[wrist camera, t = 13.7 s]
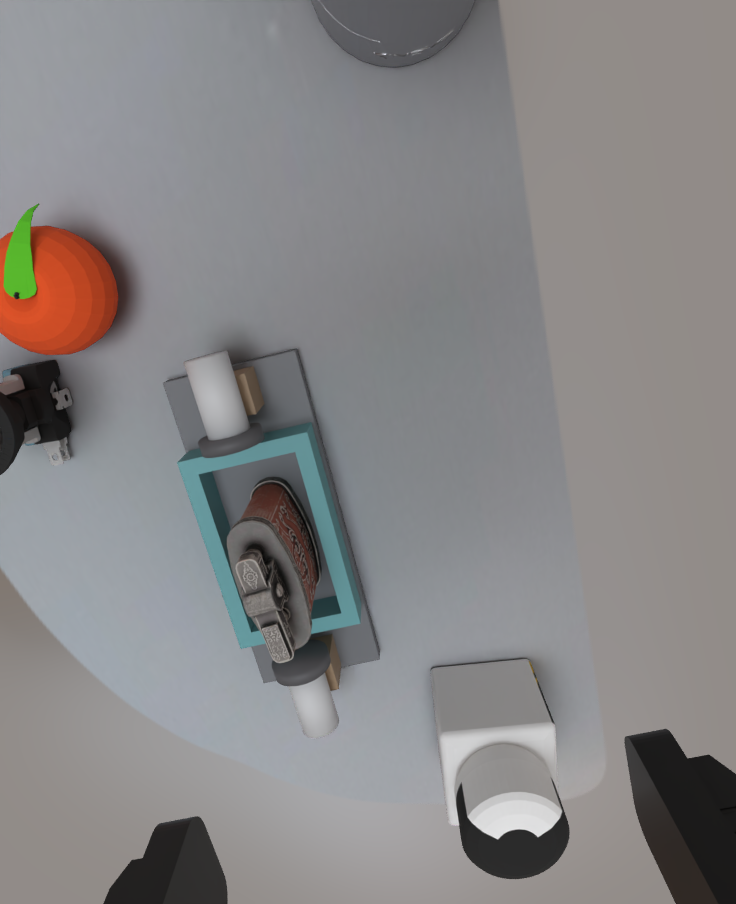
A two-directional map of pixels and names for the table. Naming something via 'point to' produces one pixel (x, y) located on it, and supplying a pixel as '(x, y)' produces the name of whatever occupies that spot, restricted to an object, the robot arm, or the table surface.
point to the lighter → (276, 566)
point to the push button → (33, 412)
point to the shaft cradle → (228, 494)
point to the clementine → (53, 289)
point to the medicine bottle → (500, 766)
